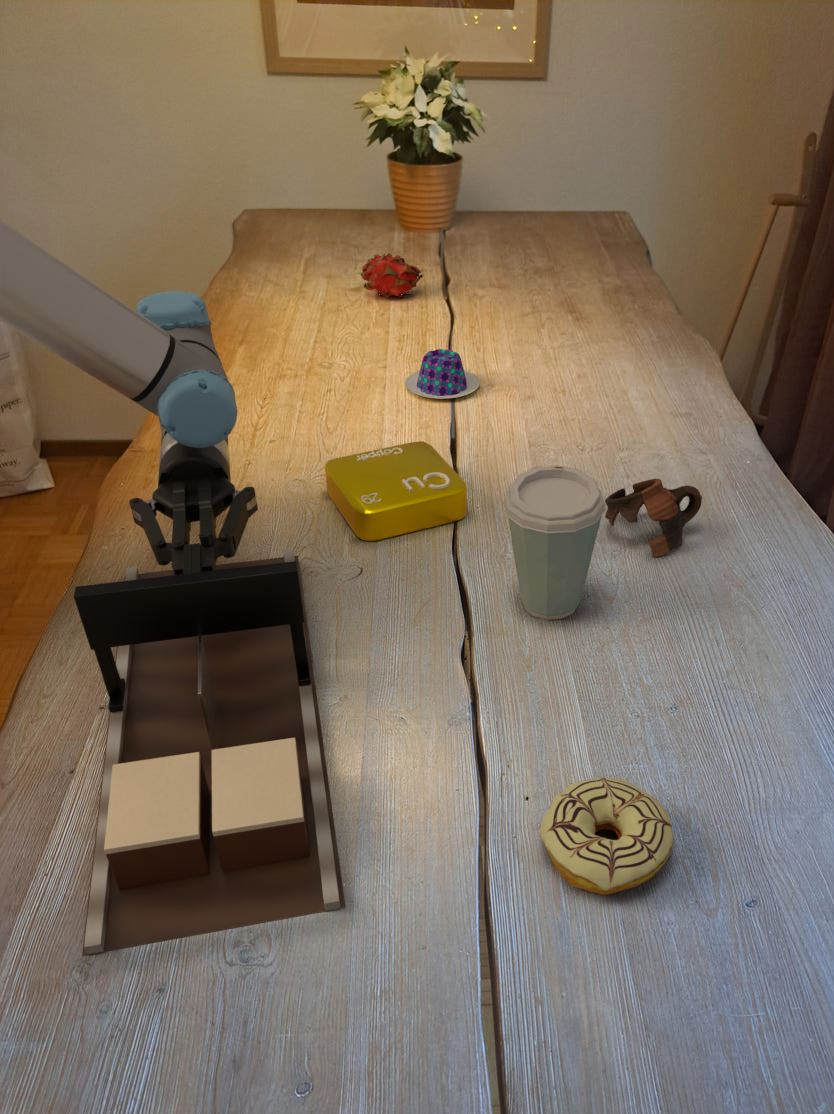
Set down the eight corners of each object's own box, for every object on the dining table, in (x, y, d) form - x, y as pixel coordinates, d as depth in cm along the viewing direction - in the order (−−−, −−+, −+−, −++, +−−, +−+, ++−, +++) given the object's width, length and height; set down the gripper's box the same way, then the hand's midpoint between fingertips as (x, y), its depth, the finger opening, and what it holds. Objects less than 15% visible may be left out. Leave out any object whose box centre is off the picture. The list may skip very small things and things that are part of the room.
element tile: (426, 466, 130) (425, 434, 127) (472, 518, 120) (472, 485, 117) (323, 489, 125) (319, 456, 122) (361, 545, 115) (358, 511, 112)
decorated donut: (515, 848, 79) (517, 819, 77) (596, 782, 85) (600, 753, 83) (612, 924, 73) (617, 895, 71) (692, 847, 79) (699, 818, 77)
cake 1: (126, 804, 81) (112, 764, 78) (209, 791, 82) (199, 751, 79) (119, 889, 74) (103, 849, 71) (209, 874, 75) (198, 834, 72)
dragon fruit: (357, 302, 184) (418, 310, 186) (360, 289, 176) (423, 296, 178) (360, 258, 184) (421, 266, 186) (362, 242, 175) (426, 251, 177)
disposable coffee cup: (590, 638, 101) (603, 519, 92) (491, 626, 103) (494, 507, 93) (598, 581, 109) (611, 467, 100) (507, 571, 111) (511, 457, 101)
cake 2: (221, 789, 82) (211, 749, 79) (301, 776, 84) (295, 737, 80) (222, 871, 76) (212, 831, 72) (310, 856, 77) (303, 816, 74)
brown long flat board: (127, 583, 108) (122, 567, 107) (298, 563, 112) (296, 547, 110) (85, 965, 70) (78, 948, 69) (347, 916, 74) (344, 900, 72)
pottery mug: (636, 570, 112) (613, 506, 110) (609, 559, 121) (587, 500, 119) (724, 530, 113) (704, 466, 111) (690, 523, 122) (671, 463, 120)
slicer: (112, 691, 92) (76, 578, 83) (310, 664, 95) (295, 553, 87) (103, 771, 83) (62, 655, 75) (320, 738, 87) (304, 624, 78)
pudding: (492, 380, 152) (493, 349, 149) (457, 409, 144) (457, 376, 141) (428, 366, 157) (427, 335, 153) (390, 393, 148) (389, 361, 145)
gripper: (259, 494, 107) (272, 617, 89) (140, 506, 105) (128, 636, 87) (250, 433, 102) (261, 552, 85) (125, 445, 100) (109, 569, 82)
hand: (194, 594), depth 86 cm, fingers closed
